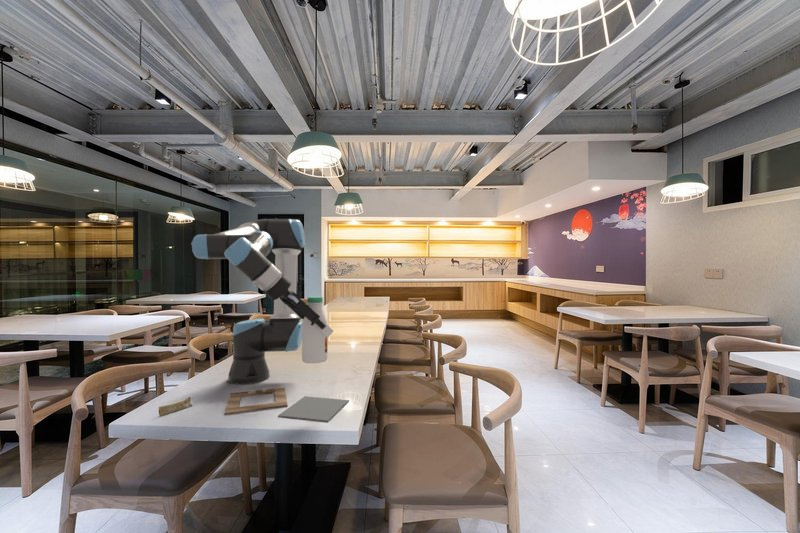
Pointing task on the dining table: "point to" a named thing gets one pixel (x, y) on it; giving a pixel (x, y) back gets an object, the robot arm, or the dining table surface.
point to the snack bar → (174, 406)
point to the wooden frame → (279, 402)
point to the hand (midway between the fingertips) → (325, 332)
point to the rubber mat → (314, 409)
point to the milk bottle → (314, 335)
